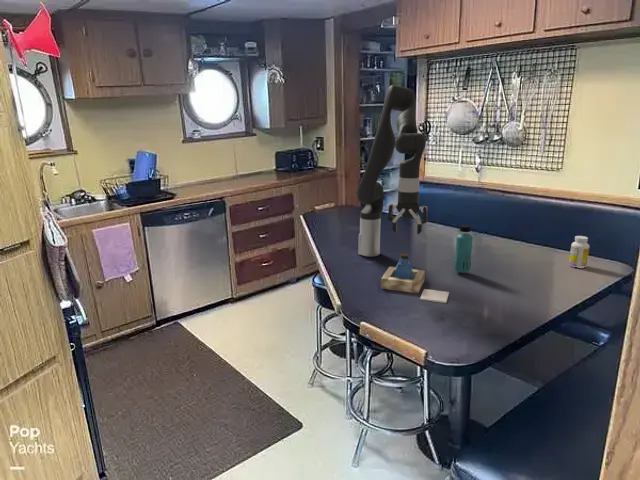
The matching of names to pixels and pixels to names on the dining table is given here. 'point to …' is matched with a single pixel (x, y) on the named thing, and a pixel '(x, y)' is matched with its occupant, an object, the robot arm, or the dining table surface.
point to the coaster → (434, 296)
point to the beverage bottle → (463, 250)
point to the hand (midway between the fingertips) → (407, 232)
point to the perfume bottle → (404, 267)
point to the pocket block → (403, 281)
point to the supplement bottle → (579, 251)
